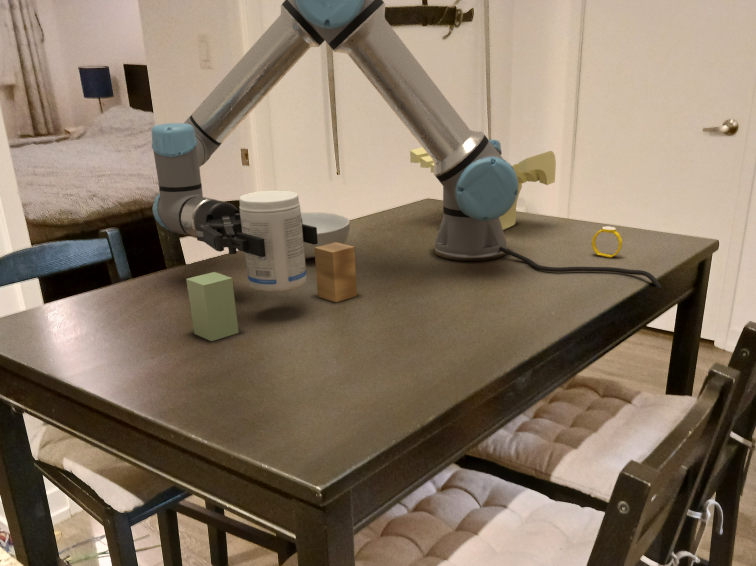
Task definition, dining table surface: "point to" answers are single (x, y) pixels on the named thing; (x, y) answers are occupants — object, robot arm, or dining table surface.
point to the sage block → (212, 306)
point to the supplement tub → (274, 240)
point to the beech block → (336, 271)
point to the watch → (607, 230)
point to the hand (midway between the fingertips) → (289, 241)
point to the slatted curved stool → (525, 171)
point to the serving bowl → (325, 229)
